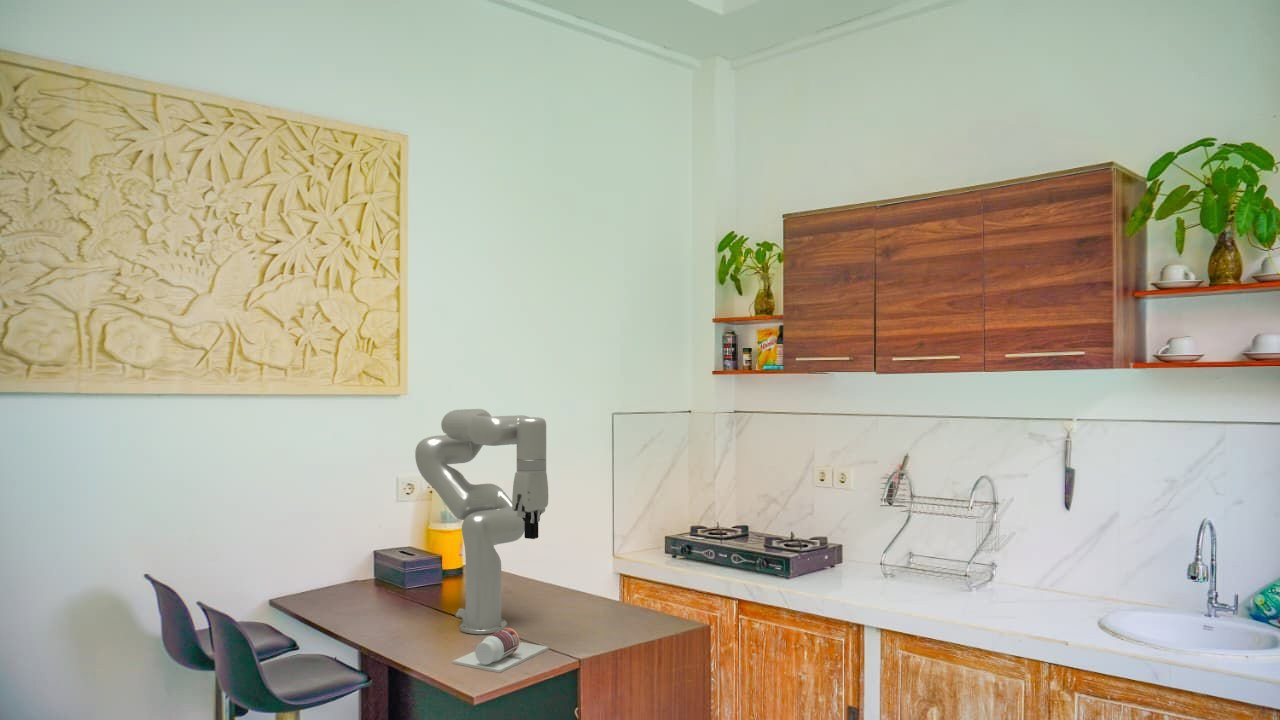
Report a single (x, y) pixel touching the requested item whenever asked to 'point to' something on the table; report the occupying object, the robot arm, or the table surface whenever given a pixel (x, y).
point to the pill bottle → (497, 646)
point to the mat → (509, 661)
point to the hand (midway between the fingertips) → (531, 538)
